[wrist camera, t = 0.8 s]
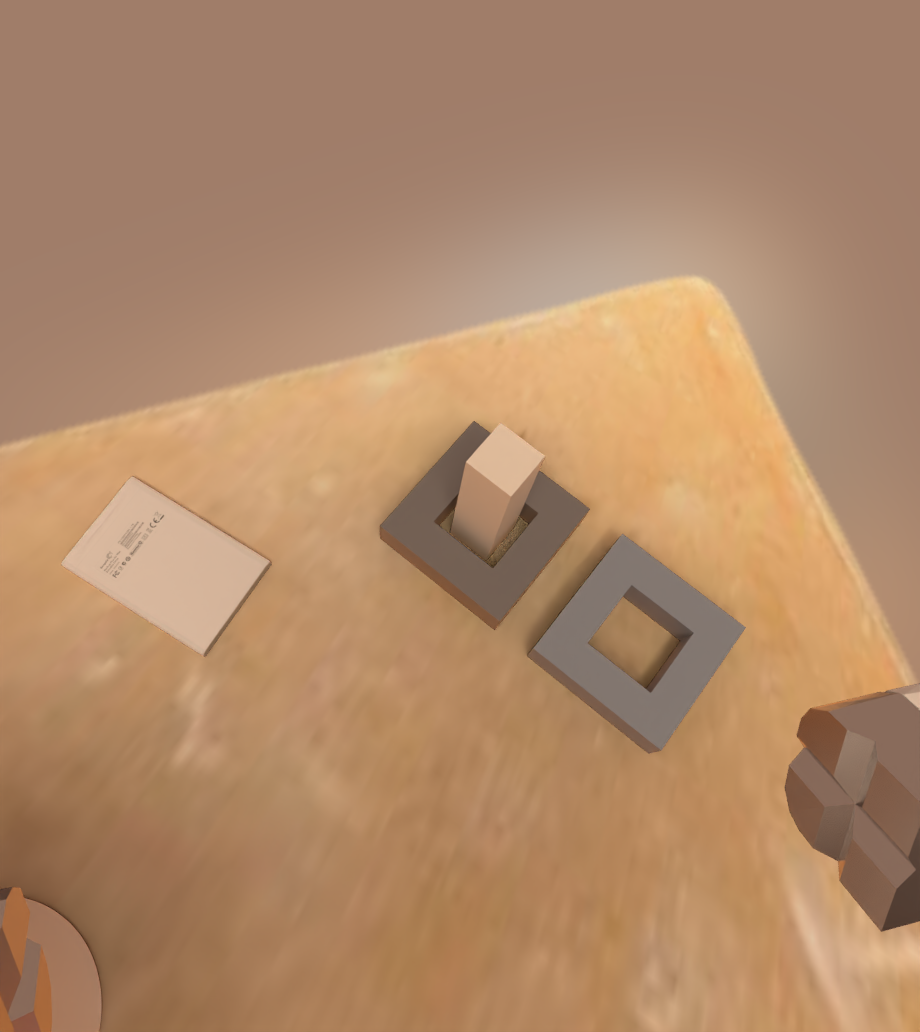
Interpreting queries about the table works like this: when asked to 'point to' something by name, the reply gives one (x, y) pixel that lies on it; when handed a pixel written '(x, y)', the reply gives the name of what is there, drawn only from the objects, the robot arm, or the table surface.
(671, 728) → the socket
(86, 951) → the robot arm
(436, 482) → the socket
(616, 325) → the table surface
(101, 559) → the external hard drive
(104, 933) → the table surface
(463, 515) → the plug
